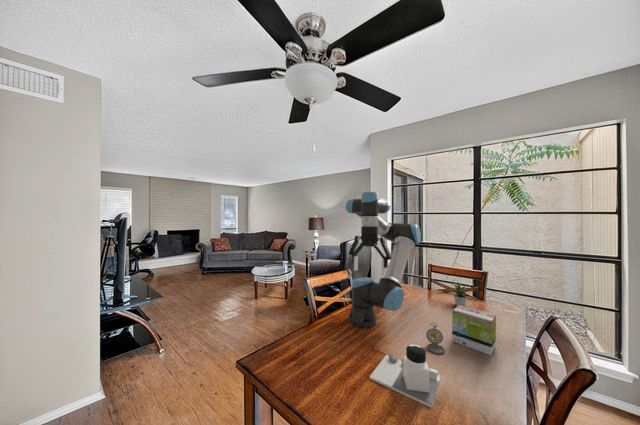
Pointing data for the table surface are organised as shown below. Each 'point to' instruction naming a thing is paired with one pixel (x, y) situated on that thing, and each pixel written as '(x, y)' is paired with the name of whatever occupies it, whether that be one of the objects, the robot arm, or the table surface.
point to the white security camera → (416, 369)
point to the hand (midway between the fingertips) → (369, 272)
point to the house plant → (459, 294)
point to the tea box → (474, 329)
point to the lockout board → (393, 378)
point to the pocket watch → (435, 340)
